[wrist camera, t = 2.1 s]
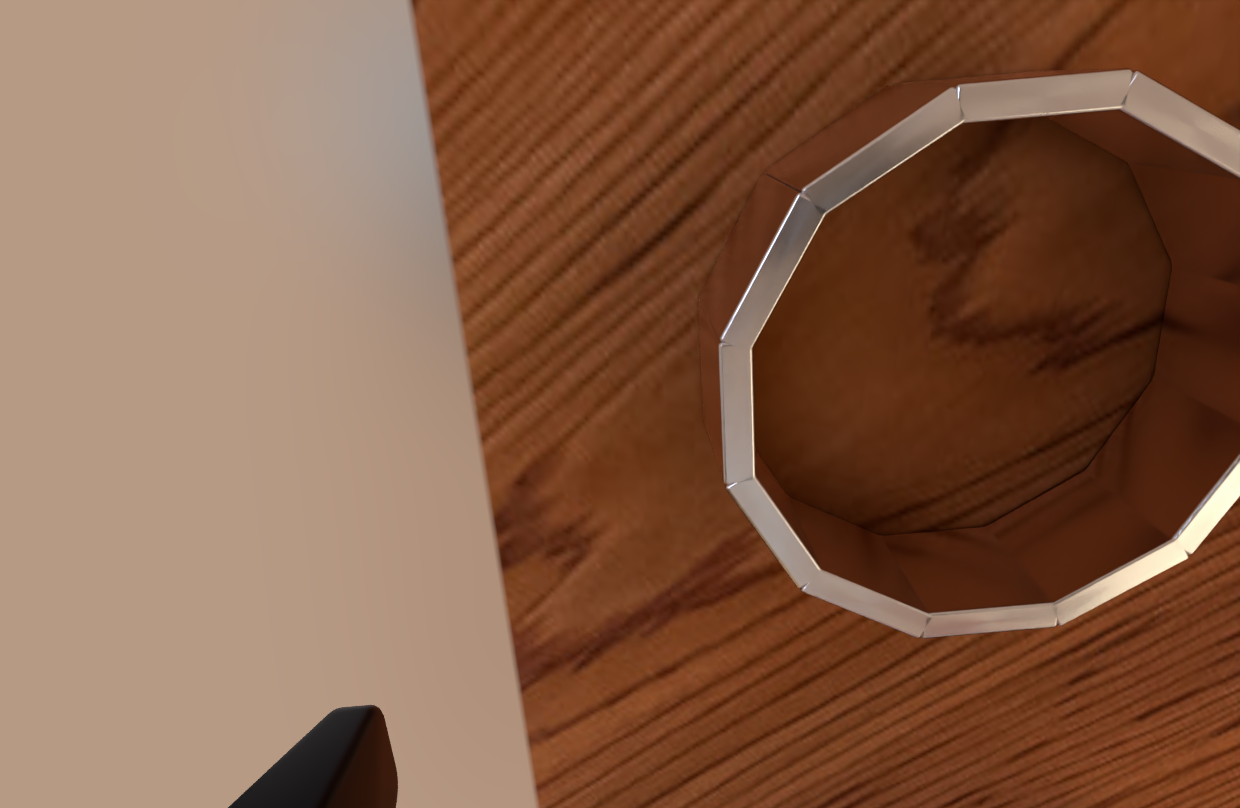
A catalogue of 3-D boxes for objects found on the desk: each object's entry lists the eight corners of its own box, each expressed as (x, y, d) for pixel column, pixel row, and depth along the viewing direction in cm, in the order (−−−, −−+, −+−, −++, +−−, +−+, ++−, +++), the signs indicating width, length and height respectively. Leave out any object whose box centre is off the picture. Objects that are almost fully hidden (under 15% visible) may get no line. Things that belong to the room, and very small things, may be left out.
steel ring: (710, 571, 19) (730, 656, 16) (687, 101, 15) (708, 105, 12) (1151, 533, 19) (1249, 612, 16) (1238, 52, 15) (1384, 45, 12)
